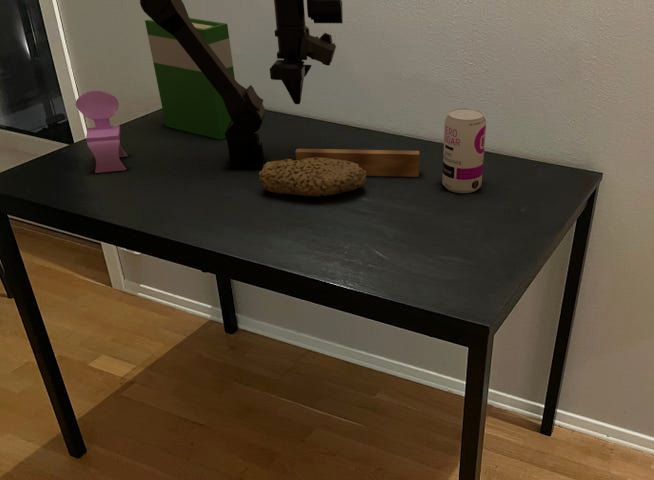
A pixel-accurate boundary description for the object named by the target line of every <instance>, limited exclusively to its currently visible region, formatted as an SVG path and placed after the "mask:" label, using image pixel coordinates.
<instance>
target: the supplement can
mask: <svg viewBox="0 0 654 480" xmlns="http://www.w3.org/2000/svg"><path fill="white" fill-rule="evenodd" d="M484 115H485V114H484V112H483V111H481V110H479V109H475V108H469V107H463V108H462V107H461V108H454V109H451V110H449V111H448V113H447V115H446V116H445V119H444V127H443V128H444V129H443V130H444V131H443V153H442V155H443V156H442V179H441V180H442V182H441V183H442V185H443V186H444V187H445V189H446V190H448V191H450V192H451V193H452V192H453V193H455V194H456V193H458V194H469V193H473V192H476V191H478V190H479V189H480V188H481V187H482V185H483V183H482V182H483V171H484V159H485V158H484V157H485V145H486V144H485V143H486V131H487V130H486V129H487V120H486V118H485V116H484Z"/></svg>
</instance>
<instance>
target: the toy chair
mask: <svg viewBox="0 0 654 480" xmlns="http://www.w3.org/2000/svg"><path fill="white" fill-rule="evenodd" d="M119 104H120V103H119V100H118V99H117V97H116V96H115V95H113V94H112V93H110V92H107V91H103V90H98V89H94V90H89V91H86V92H84V93H83V94H81V95H80V96H78V97H77V99H75V107H76V109H77V110H78V111H79V113H81V114H82V115H83V117H85V118H87V119H90V120H93V122H94V124H95V125H94V126H95V127H87V131H86V136H85V140H86V145H87V147H88V148H89V150H90V151H91V153H92V155H93V157H94V159H95V170H94V173H95V174H97V173H99V174H100V173H109V172H110V173H111V172H120V171H126V170H127V168H126V167H125V165H124V164H123V162H122V160H121V159H120V158H126V157H128V154H127V153H126V152H125V150H124V149H123V148H122V145H121V135H122V130H121V125H111V122H110V119H111V118H113V116H115V114H116V112H117V111H118V109H119V106H120V105H119Z"/></svg>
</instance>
